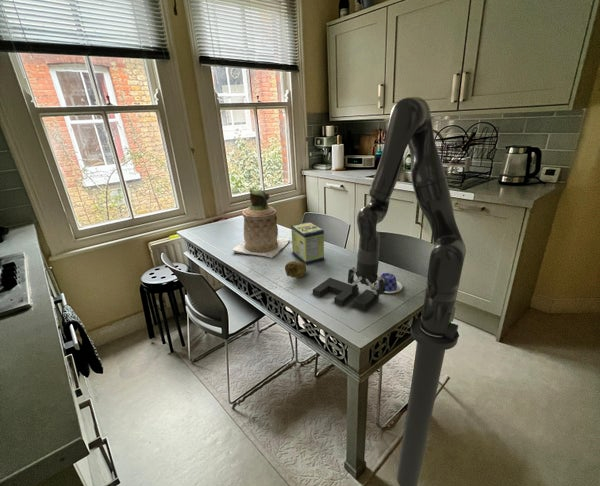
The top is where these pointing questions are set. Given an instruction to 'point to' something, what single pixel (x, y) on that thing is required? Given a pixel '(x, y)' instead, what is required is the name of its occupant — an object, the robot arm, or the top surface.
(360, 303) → the black rectangular block
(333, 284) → the base pad
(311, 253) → the protein box
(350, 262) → the top surface
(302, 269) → the potato
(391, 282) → the pudding
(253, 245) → the cookie jar
